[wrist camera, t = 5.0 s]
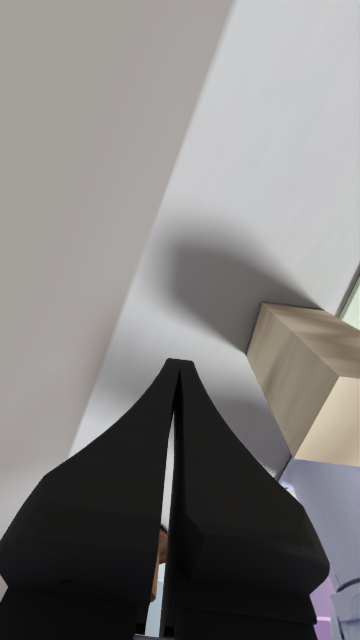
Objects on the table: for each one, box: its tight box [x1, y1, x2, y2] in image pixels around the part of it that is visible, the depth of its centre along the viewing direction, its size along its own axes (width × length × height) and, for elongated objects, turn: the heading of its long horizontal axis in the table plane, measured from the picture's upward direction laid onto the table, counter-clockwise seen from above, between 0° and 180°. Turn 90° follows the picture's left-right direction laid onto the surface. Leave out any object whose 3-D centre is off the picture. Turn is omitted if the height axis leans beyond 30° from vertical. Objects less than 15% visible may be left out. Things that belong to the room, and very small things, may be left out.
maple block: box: [245, 302, 360, 467], centre depth 13 cm, size 5×5×9 cm
